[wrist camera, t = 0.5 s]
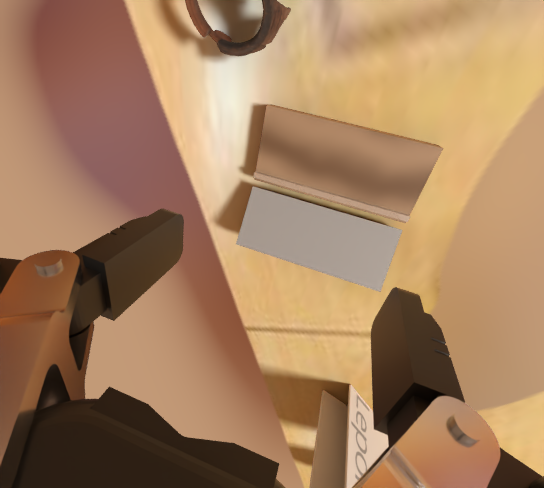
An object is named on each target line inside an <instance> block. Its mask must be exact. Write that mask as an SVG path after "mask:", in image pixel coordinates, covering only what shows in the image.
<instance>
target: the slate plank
mask: <svg viewBox="0 0 544 488" xmlns="http://www.w3.org/2000/svg"><path fill="white" fill-rule="evenodd" d="M401 232H402V230H400V229H397V228H393V227H390V226H386V225H383V224H380V223H376V222H373V221H369V220H366V219H363V218H359V217H356V216H352V215H349V214H346V213H342V212H339V211H335V210H332V209H329V208H325V207H322V206H318V205H315V204H312V203H308V202H305V201H301V200H298V199H295V198H291V197H288V196H284V195H281V194H277V193H274V192H271V191H267V190H264V189H260V188H257V187H254V186H253V188H252V191H251V194H250V198H249V201H248V205H247V208H246V212H245V215H244V218H243V222H242V225H241V229H240V232H239V236H238V239H237V243H236V244H237V245H240V246H243V247H246V248H249V249H252V250H255V251H258V252H261V253H264V254H267V255H270V256H274V257H277V258H280V259H283V260H286V261H289V262H292V263H295V264H298V265H301V266H304V267H307V268H310V269H313V270H316V271H319V272H322V273H325V274H328V275H331V276H334V277H337V278H340V279H343V280H346V281H349V282H352V283H355V284H358V285H361V286H364V287H367V288H370V289H373V290H376V291H379V292H380V291H381V288H382V286H383V283H384V280H385V277H386V274H387V272H388V269H389V266H390V263H391V260H392V258H393V255H394V252H395V249H396V246H397V244H398V241H399V238H400V235H401Z"/></svg>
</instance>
